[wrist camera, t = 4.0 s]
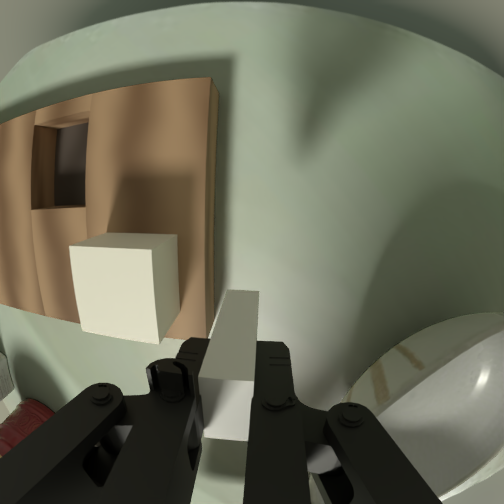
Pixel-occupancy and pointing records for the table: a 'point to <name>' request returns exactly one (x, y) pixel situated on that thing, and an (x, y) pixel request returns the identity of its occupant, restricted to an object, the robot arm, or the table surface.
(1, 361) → the skincare box
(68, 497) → the robot arm
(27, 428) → the canister
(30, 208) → the board
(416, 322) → the table surface
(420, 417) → the decorative bowl
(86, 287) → the block
